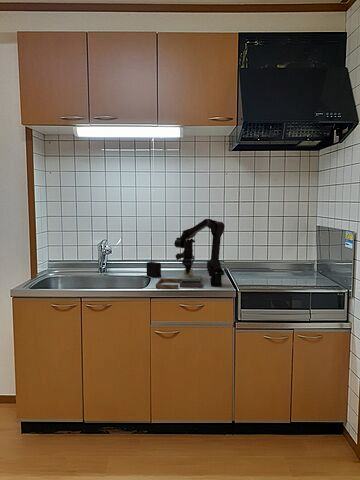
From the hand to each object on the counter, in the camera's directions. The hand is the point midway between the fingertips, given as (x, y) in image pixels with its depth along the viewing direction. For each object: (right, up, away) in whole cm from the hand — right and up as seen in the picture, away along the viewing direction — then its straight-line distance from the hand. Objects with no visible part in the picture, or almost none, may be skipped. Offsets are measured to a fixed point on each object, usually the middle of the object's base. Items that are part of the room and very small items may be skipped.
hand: (188, 272), depth 267 cm
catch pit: (+1, -7, -17) cm, 18 cm away
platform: (0, -5, +1) cm, 5 cm away
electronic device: (-24, -4, +12) cm, 27 cm away
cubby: (-12, -7, -15) cm, 20 cm away
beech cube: (0, -3, 0) cm, 3 cm away
